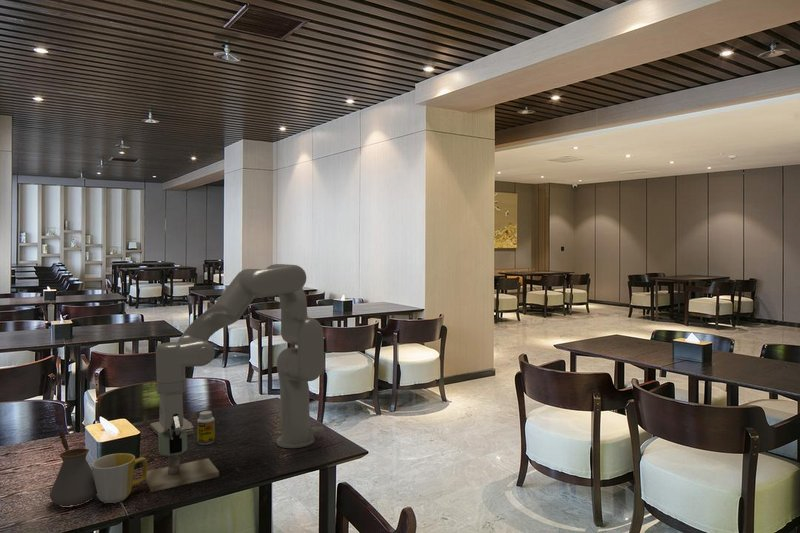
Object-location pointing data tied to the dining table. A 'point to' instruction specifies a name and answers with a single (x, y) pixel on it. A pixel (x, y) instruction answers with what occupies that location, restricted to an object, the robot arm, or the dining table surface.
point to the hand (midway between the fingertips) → (173, 447)
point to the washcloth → (186, 426)
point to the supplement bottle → (205, 428)
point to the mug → (116, 476)
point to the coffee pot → (73, 477)
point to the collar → (164, 442)
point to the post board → (180, 473)
